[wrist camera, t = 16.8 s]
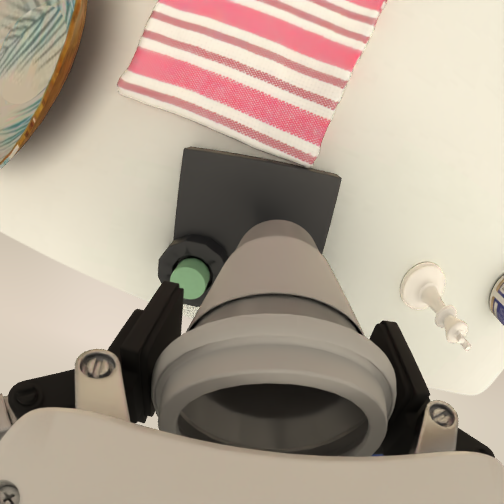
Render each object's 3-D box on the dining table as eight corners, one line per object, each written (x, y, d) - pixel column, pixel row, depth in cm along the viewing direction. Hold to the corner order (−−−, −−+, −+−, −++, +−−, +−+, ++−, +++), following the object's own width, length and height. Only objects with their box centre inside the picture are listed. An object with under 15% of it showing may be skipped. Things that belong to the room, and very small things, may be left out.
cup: (211, 299, 19) (152, 473, 8) (219, 193, 17) (116, 325, 6) (325, 314, 19) (356, 492, 8) (350, 211, 17) (454, 361, 5)
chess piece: (424, 252, 26) (477, 309, 17) (451, 279, 27) (502, 337, 17) (390, 291, 28) (428, 360, 18) (419, 314, 28) (458, 381, 19)
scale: (302, 305, 29) (304, 327, 26) (169, 279, 29) (157, 297, 26) (337, 174, 24) (346, 181, 21) (182, 145, 24) (168, 149, 21)
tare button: (208, 291, 25) (203, 303, 24) (175, 284, 26) (168, 295, 24) (212, 261, 24) (207, 271, 23) (177, 254, 24) (170, 263, 23)
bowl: (22, -45, 15) (-18, -59, 7) (181, -35, 18) (150, -78, 10) (-47, 130, 24) (-90, 141, 17) (69, 205, 27) (16, 232, 19)
